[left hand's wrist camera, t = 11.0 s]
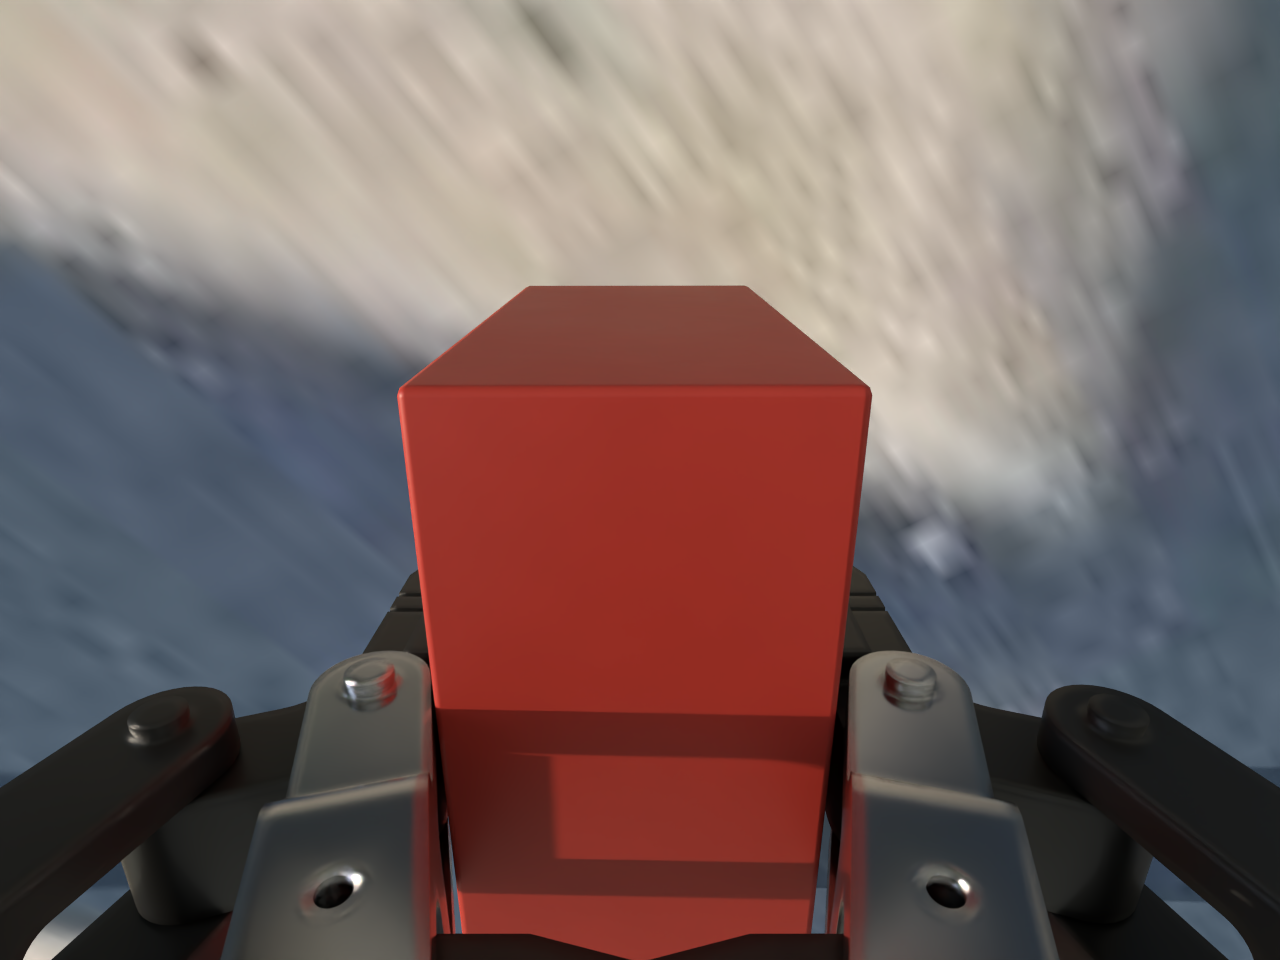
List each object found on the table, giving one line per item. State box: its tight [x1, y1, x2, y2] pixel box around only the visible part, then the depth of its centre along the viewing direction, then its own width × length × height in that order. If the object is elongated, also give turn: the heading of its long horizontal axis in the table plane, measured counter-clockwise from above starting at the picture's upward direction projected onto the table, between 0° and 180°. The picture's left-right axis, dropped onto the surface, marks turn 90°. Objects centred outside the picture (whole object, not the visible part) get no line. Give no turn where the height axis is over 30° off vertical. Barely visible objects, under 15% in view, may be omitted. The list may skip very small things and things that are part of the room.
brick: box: [397, 286, 872, 960], centre depth 11 cm, size 4×9×8 cm, turn 0°
